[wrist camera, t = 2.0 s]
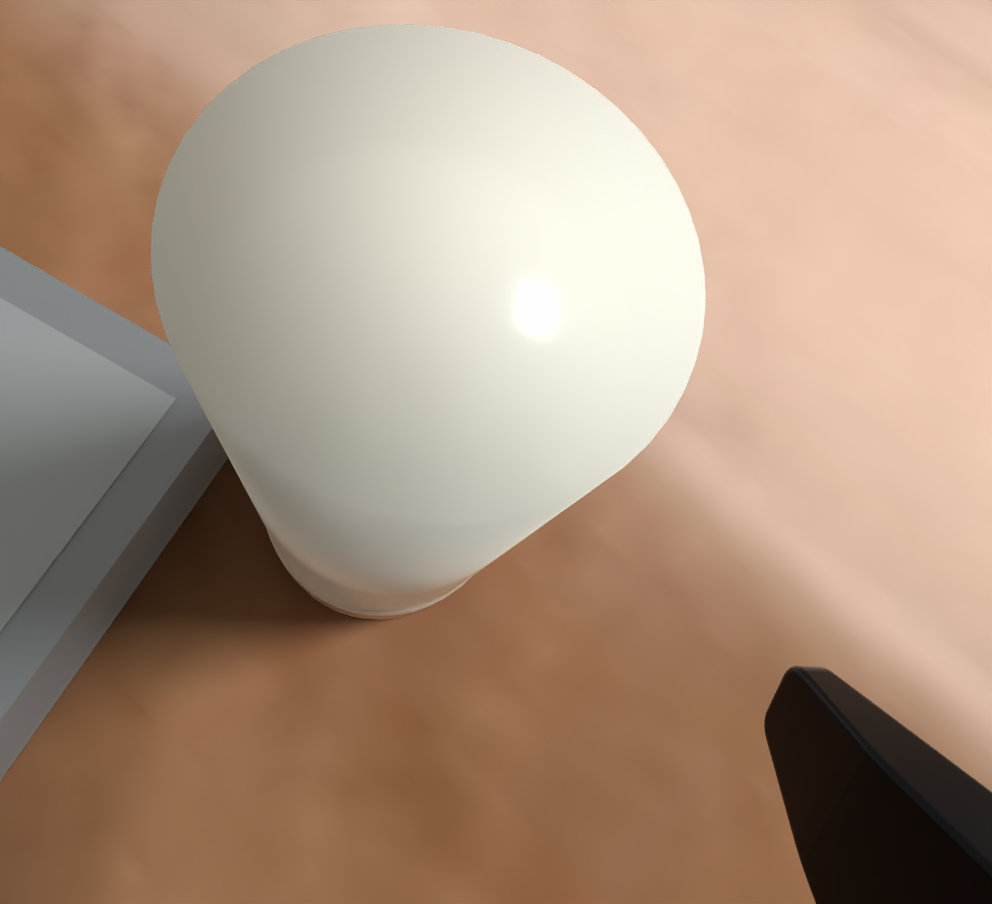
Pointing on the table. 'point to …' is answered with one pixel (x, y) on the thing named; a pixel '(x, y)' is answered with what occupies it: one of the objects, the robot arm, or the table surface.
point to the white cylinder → (422, 301)
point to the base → (81, 480)
